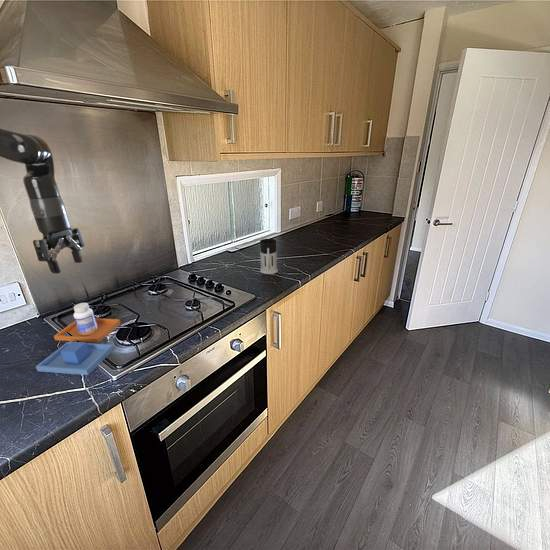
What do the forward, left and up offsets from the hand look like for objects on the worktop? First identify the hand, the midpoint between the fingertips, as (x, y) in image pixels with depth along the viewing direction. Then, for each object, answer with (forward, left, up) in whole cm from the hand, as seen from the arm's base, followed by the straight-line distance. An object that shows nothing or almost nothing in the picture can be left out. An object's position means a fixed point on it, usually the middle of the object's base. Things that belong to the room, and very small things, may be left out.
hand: (68, 267), depth 88 cm
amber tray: (0, 0, -23) cm, 23 cm away
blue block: (+7, -13, -23) cm, 27 cm away
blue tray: (+7, -13, -23) cm, 28 cm away
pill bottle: (0, 0, -23) cm, 23 cm away
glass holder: (+52, +55, -23) cm, 79 cm away
